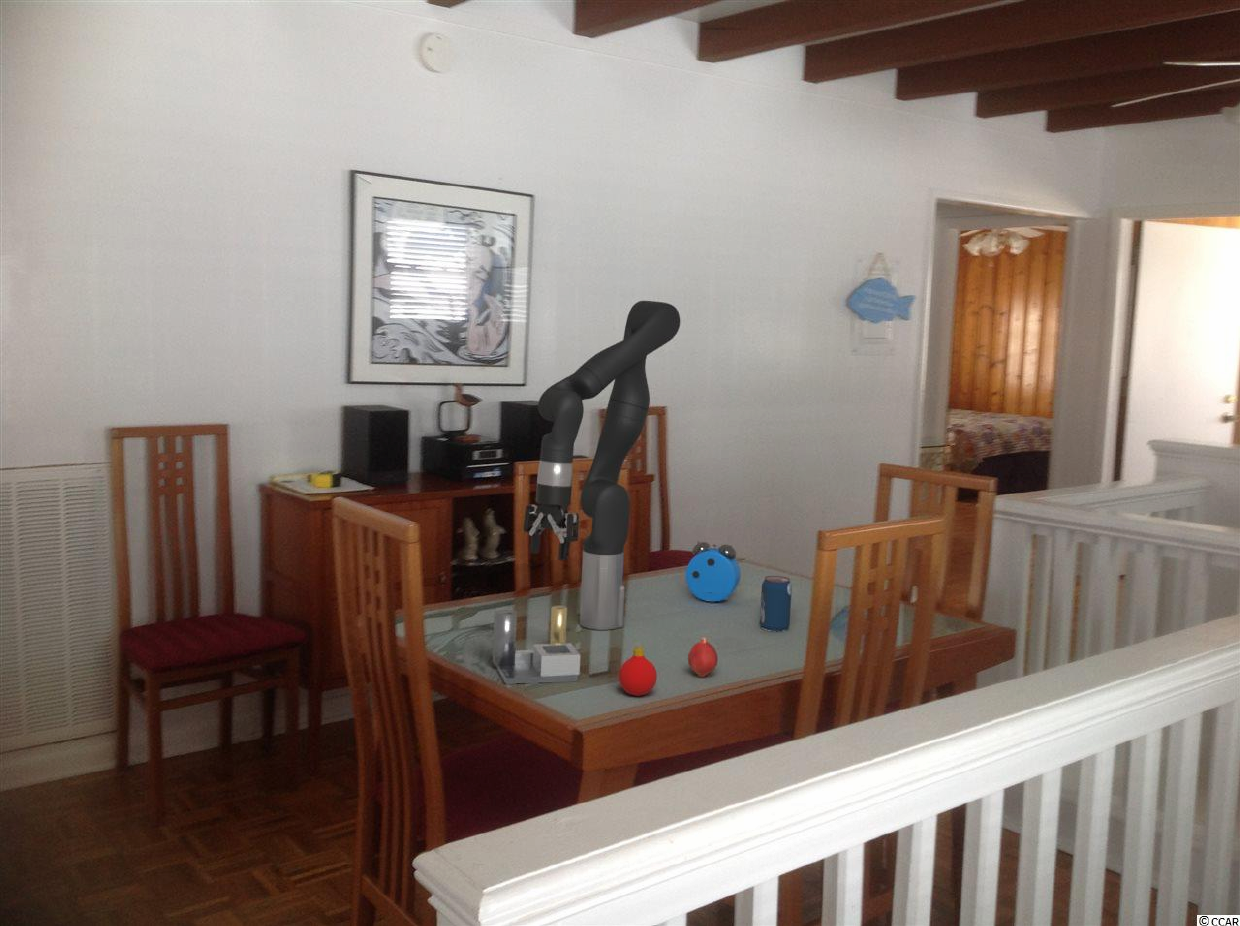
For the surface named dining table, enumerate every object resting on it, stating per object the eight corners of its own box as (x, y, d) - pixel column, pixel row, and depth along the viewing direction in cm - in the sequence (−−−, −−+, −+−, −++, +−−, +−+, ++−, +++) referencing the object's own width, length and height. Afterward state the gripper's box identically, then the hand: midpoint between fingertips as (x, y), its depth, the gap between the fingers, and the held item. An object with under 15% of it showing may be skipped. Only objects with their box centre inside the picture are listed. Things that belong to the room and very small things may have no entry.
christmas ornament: (651, 688, 205) (654, 636, 204) (659, 700, 198) (661, 648, 197) (615, 688, 204) (617, 636, 203) (621, 701, 197) (623, 648, 196)
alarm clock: (739, 601, 276) (742, 543, 274) (733, 606, 270) (737, 547, 269) (690, 594, 280) (693, 538, 279) (683, 600, 275) (686, 542, 273)
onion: (685, 671, 216) (687, 633, 215) (713, 672, 216) (715, 633, 215) (689, 681, 210) (691, 641, 209) (718, 681, 211) (720, 642, 210)
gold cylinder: (563, 652, 225) (565, 605, 224) (566, 656, 222) (568, 609, 221) (548, 653, 224) (550, 606, 223) (551, 657, 221) (553, 610, 220)
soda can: (795, 629, 251) (798, 579, 250) (777, 634, 246) (781, 583, 245) (770, 623, 256) (773, 573, 255) (753, 628, 251) (756, 577, 250)
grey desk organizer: (564, 661, 218) (566, 607, 217) (579, 681, 207) (582, 624, 206) (490, 665, 214) (492, 610, 213) (502, 684, 203) (504, 626, 201)
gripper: (590, 486, 230) (584, 561, 231) (543, 477, 239) (537, 549, 241) (566, 487, 224) (559, 564, 226) (519, 478, 234) (513, 552, 235)
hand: (548, 556), depth 233 cm, fingers open, 8 cm apart
